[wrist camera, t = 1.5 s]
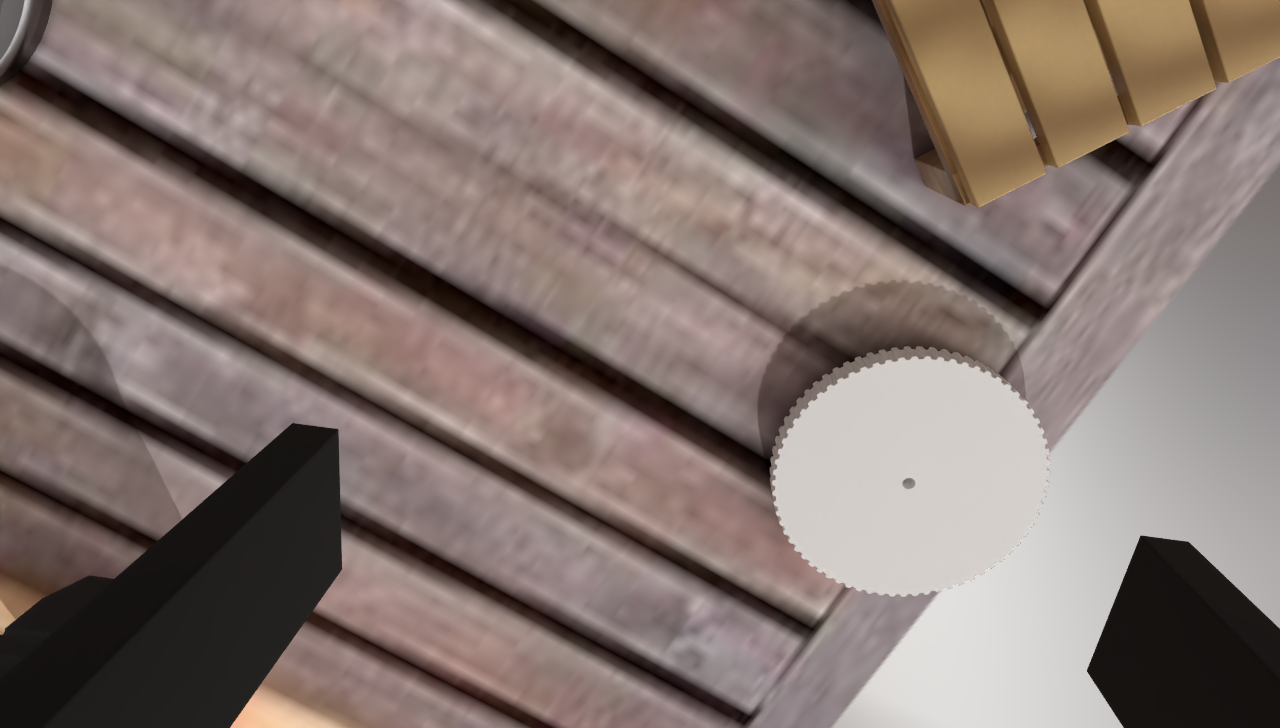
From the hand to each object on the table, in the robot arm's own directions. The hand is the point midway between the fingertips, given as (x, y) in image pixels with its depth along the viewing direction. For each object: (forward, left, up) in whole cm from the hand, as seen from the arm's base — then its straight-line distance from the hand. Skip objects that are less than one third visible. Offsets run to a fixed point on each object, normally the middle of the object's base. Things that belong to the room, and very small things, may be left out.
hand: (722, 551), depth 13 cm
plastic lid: (+16, +3, -28) cm, 33 cm away
